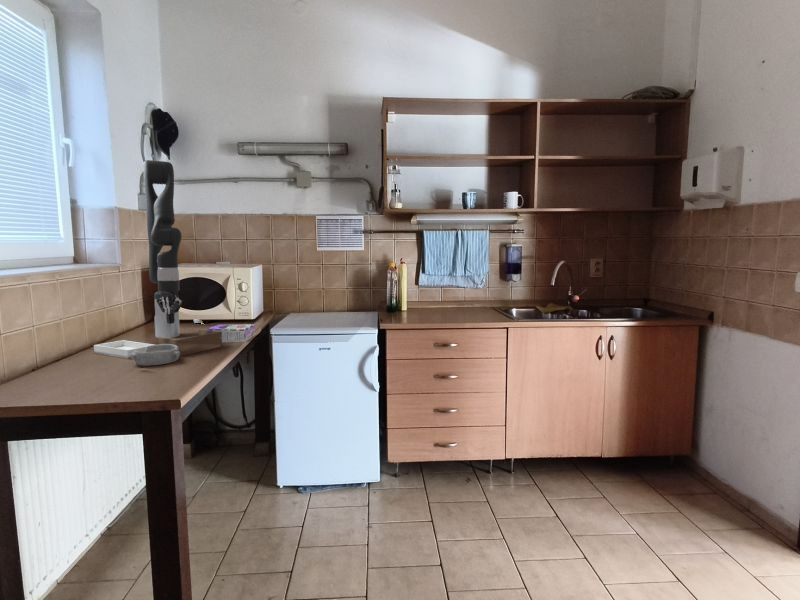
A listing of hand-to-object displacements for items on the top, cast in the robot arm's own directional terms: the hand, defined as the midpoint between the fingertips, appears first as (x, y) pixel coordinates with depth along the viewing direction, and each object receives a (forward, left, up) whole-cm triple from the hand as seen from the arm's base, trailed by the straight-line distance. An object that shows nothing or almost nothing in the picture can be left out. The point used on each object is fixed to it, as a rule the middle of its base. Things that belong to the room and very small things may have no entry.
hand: (170, 323), depth 180 cm
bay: (+9, 0, -10) cm, 13 cm away
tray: (-6, -15, -10) cm, 19 cm away
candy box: (+2, +18, -7) cm, 19 cm away
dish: (+17, -18, -10) cm, 27 cm away
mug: (-33, +42, -10) cm, 54 cm away
